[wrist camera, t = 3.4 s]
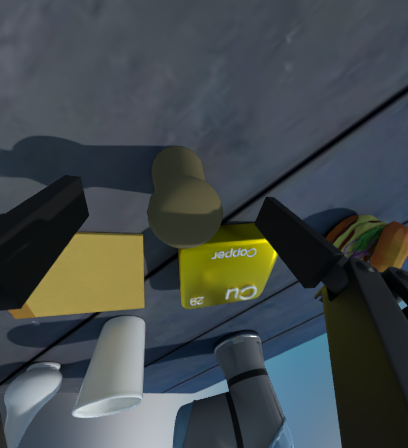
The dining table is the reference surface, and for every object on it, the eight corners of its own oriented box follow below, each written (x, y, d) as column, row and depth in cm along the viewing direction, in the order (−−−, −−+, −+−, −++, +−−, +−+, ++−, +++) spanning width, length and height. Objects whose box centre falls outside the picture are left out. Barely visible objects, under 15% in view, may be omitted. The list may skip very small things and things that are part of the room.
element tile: (271, 220, 26) (289, 239, 22) (250, 279, 34) (261, 301, 30) (176, 226, 23) (179, 249, 19) (179, 289, 31) (181, 314, 28)
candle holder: (117, 340, 38) (101, 419, 28) (87, 324, 32) (53, 416, 22) (156, 326, 38) (153, 400, 28) (133, 307, 32) (119, 393, 22)
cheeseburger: (315, 228, 29) (390, 263, 21) (358, 196, 30) (445, 216, 22) (316, 261, 35) (375, 298, 26) (352, 232, 36) (419, 259, 28)
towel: (144, 305, 32) (144, 308, 32) (17, 315, 27) (14, 319, 26) (143, 233, 23) (142, 236, 22) (-54, 227, 17) (-60, 230, 17)
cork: (213, 174, 20) (252, 223, 11) (179, 206, 21) (188, 272, 12) (176, 132, 17) (189, 154, 8) (139, 173, 18) (114, 232, 9)
